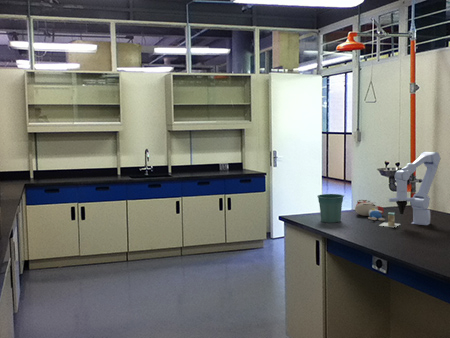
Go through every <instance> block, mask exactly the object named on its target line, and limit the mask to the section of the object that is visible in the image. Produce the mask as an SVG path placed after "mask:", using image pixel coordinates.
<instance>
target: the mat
mask: <svg viewBox="0 0 450 338" xmlns="http://www.w3.org/2000/svg"><path fill="white" fill-rule="evenodd" d="M378 226H379V227H383V226H384V227H385V228H394V227H395V228H397V226H398V227H399V226H401V223H396V222H395V224H394V226H388V222H382V223H380V224H379V225H378Z"/></svg>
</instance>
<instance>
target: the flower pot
mask: <svg viewBox="0 0 450 338" xmlns="http://www.w3.org/2000/svg"><path fill="white" fill-rule="evenodd" d="M344 197H345V196H344V194H340V193H339V194H338V193H322V194H318V195H317V200H318V203H319V213H320V221H321V222H324V223H328V224H329V223H330V224H333V223H337V222H338V223H339V222H341V220H342V218H341V217H342V206H343V201H344Z"/></svg>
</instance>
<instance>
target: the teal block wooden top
mask: <svg viewBox="0 0 450 338" xmlns="http://www.w3.org/2000/svg"><path fill="white" fill-rule="evenodd" d="M387 223H388V226H394V224H395V223H396V222H395V212H388V213H387Z"/></svg>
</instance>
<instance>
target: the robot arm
mask: <svg viewBox="0 0 450 338" xmlns="http://www.w3.org/2000/svg"><path fill="white" fill-rule="evenodd" d="M440 161H441V155H440V153H439V152H438V151H423V152H421V153H419V157H417V158H416V159H415V160H414V161H413V162H409V163H406V165H405V166H404V167H402V168H401V169H399V170H397V171H395V173H394V179H395V183H396V197H389V198H388V203H394V202H395V203H396V205H397V207H398V210H399V214H400V215H404V213H405V209H406V206H407V205H408V202H410V203H409V205H410V207H411V208H412V222H411V223H410V224H411V225H421V226H429V225H430V224H431V210H430V209H429V206H430V201H431V198H430V196H429V193H430V189H431V187H432V184H433V181H434V178H435V176H436V174H437V170H438V166H439V164H440ZM422 165H424V166H425V167H426V171H425V173H424V176H423V178H422V181H421V184H420V187H419V190H418V191H417V192H416V193H414V194H413V196H412V197H408V180H409V179H410V177H411V175H412V174H413V173H415V172H416V171H417V168H418V167H419V166H422Z"/></svg>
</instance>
